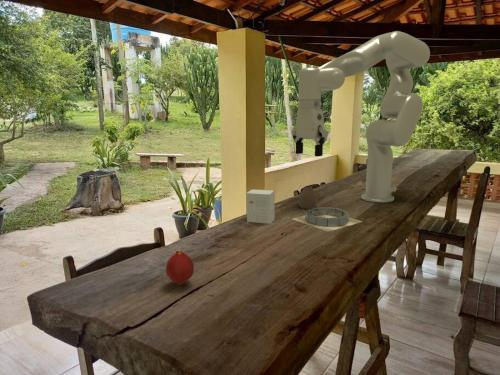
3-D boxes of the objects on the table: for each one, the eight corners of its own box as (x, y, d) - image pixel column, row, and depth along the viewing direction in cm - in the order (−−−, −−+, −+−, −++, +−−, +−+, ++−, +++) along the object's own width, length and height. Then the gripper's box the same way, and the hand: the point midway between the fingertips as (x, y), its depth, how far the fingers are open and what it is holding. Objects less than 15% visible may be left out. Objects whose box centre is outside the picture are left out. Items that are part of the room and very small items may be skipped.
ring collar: (325, 212, 125) (326, 205, 125) (356, 221, 114) (357, 213, 114) (297, 219, 118) (297, 211, 117) (327, 229, 107) (327, 221, 106)
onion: (169, 278, 79) (166, 244, 77) (195, 277, 79) (193, 243, 78) (165, 291, 73) (162, 255, 71) (193, 290, 74) (191, 254, 72)
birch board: (325, 212, 127) (325, 210, 127) (362, 223, 114) (362, 221, 114) (291, 221, 118) (291, 218, 118) (327, 234, 105) (327, 231, 105)
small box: (274, 221, 118) (274, 190, 116) (270, 226, 113) (270, 194, 111) (252, 219, 121) (251, 188, 119) (246, 224, 116) (246, 192, 114)
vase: (317, 212, 128) (317, 188, 126) (297, 211, 129) (298, 188, 127) (317, 207, 134) (318, 184, 132) (299, 206, 135) (299, 184, 134)
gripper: (336, 104, 118) (334, 156, 122) (300, 105, 132) (299, 152, 136) (320, 105, 114) (319, 158, 118) (284, 106, 128) (284, 153, 132)
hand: (308, 154), depth 127 cm, fingers open, 9 cm apart
